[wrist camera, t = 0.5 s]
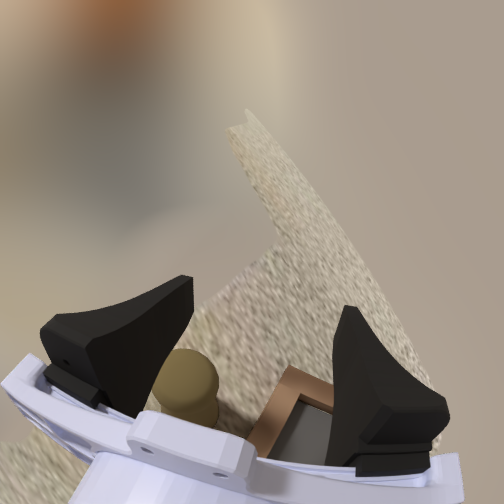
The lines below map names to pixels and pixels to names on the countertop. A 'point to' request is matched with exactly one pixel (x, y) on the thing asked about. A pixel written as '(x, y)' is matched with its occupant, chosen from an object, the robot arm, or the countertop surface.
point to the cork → (188, 387)
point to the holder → (295, 420)
